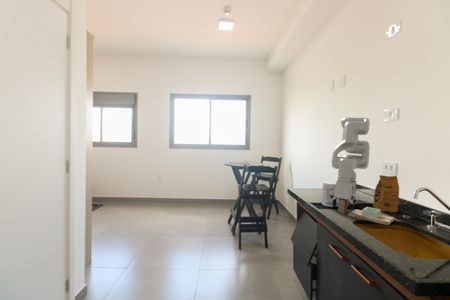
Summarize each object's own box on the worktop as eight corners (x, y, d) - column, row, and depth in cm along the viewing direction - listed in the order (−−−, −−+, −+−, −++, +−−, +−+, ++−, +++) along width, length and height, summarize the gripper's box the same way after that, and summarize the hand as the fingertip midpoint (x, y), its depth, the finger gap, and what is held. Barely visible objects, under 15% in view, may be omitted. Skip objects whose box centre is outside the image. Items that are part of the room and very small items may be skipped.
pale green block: (366, 212, 160) (367, 206, 160) (380, 215, 156) (380, 209, 155) (361, 215, 154) (362, 209, 154) (375, 218, 149) (376, 212, 149)
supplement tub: (340, 206, 178) (342, 183, 177) (331, 208, 173) (332, 184, 172) (327, 202, 186) (329, 181, 185) (318, 204, 181) (319, 182, 180)
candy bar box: (348, 203, 187) (350, 179, 185) (355, 205, 182) (357, 180, 181) (337, 204, 181) (338, 180, 180) (343, 206, 177) (345, 181, 176)
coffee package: (370, 207, 178) (373, 173, 176) (390, 208, 177) (393, 174, 176) (378, 212, 168) (381, 176, 166) (399, 213, 167) (402, 177, 166)
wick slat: (340, 211, 167) (341, 197, 166) (346, 212, 164) (347, 198, 164) (337, 212, 163) (338, 198, 163) (343, 214, 161) (344, 200, 160)
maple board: (356, 211, 167) (356, 209, 166) (394, 220, 153) (394, 217, 153) (348, 215, 157) (348, 213, 157) (388, 225, 143) (388, 222, 143)
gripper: (362, 181, 159) (360, 210, 160) (332, 176, 171) (330, 204, 172) (358, 182, 154) (355, 212, 155) (327, 178, 166) (325, 206, 167)
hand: (342, 208), depth 164 cm, fingers open, 9 cm apart
